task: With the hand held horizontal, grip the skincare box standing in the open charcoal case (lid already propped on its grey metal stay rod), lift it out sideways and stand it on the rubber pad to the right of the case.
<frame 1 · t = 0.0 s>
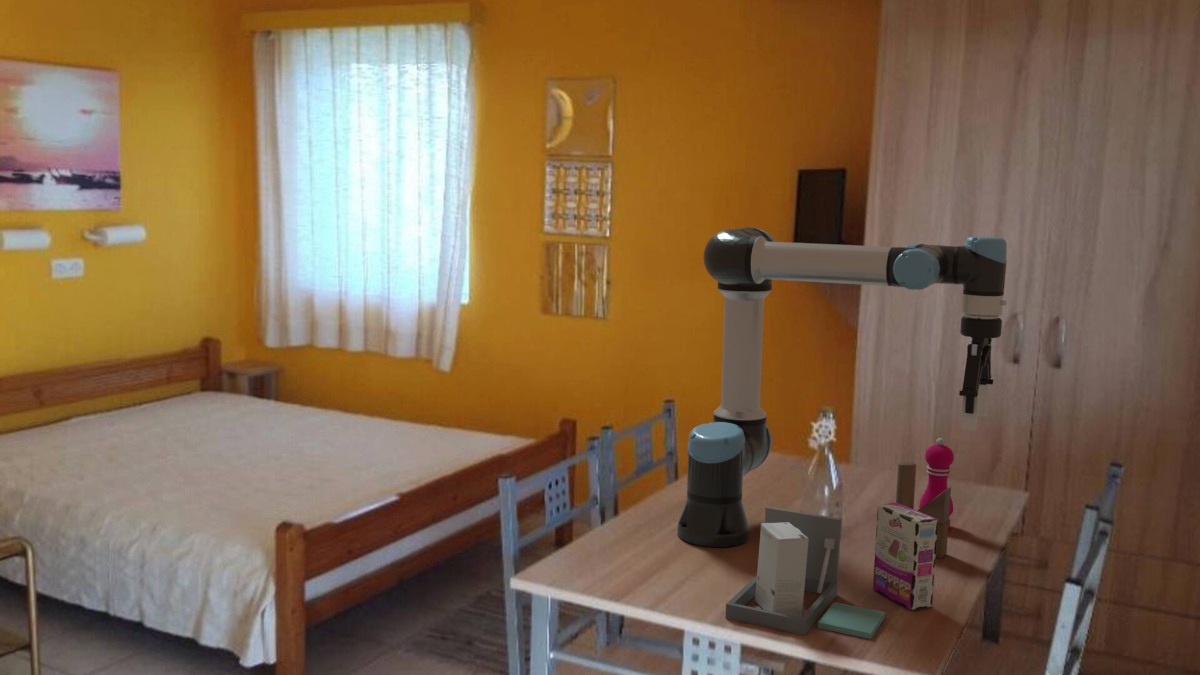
hand: (974, 422, 209), 28 cm above the table, tool pointing down, fingers open, 13 cm apart
skincare box: (779, 611, 185), resting in case
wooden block: (918, 551, 217), on the table
pad: (851, 622, 180), on the table
case: (783, 606, 187), on the table
pepper mill: (934, 527, 233), on the table
candy bar box: (902, 599, 192), on the table
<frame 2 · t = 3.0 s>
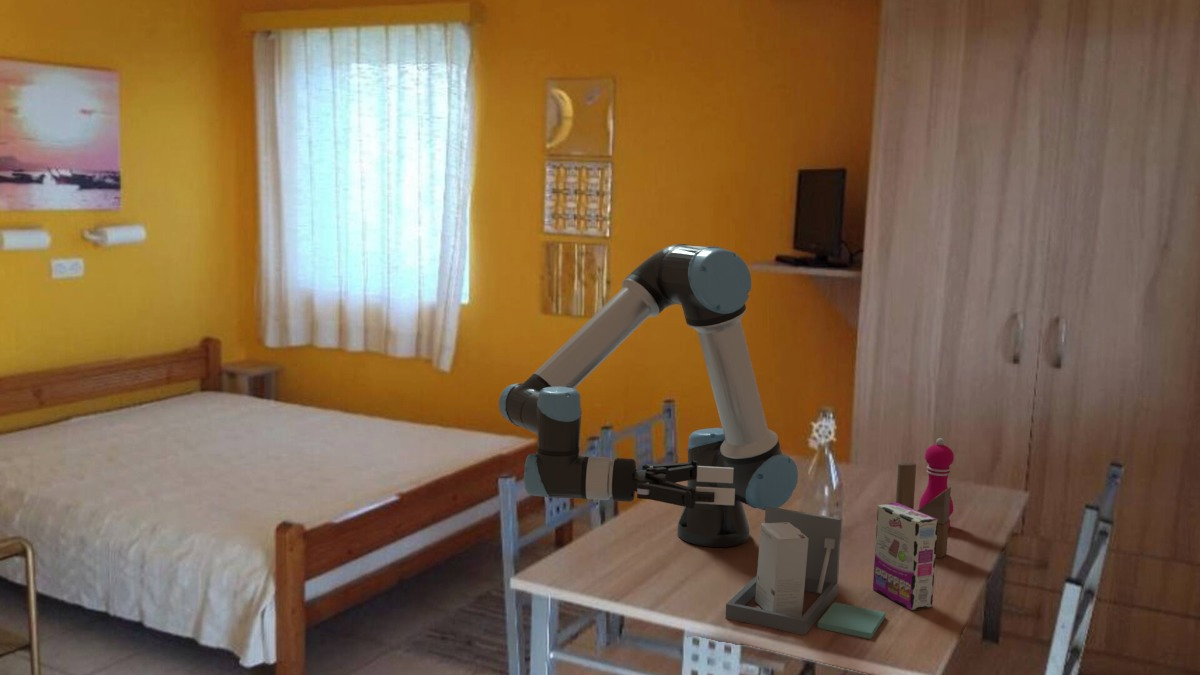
hand: (734, 485, 184), 22 cm above the table, tool horizontal, fingers open, 13 cm apart
nothing on the table moved.
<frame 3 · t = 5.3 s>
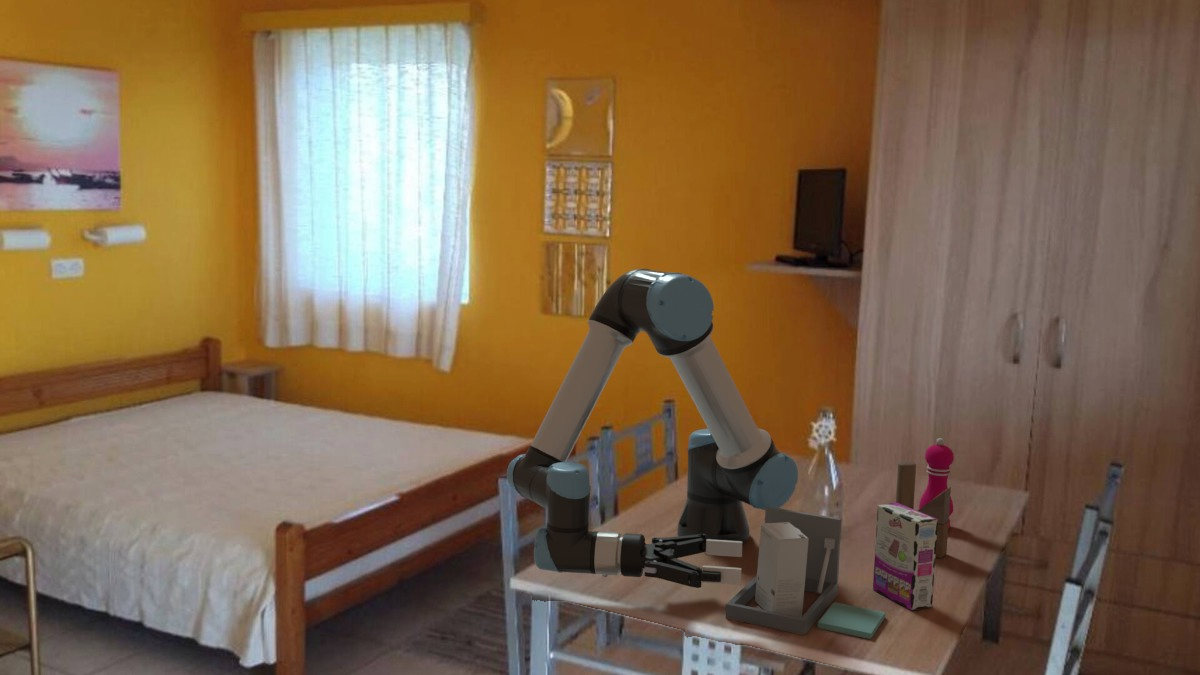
hand: (741, 562, 185), 8 cm above the table, tool horizontal, fingers open, 13 cm apart
nothing on the table moved.
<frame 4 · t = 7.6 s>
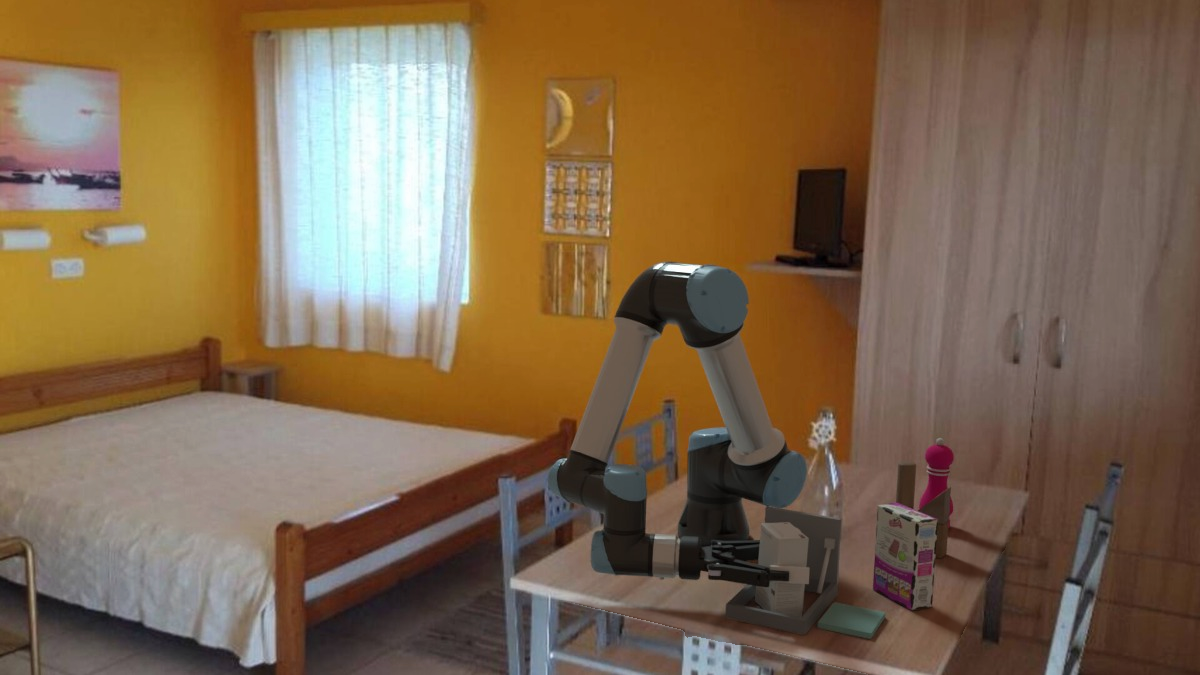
hand: (807, 565, 184), 9 cm above the table, tool horizontal, fingers closed on skincare box, 9 cm apart
skincare box: (779, 611, 185), resting in case, touching gripper
everything else where it was.
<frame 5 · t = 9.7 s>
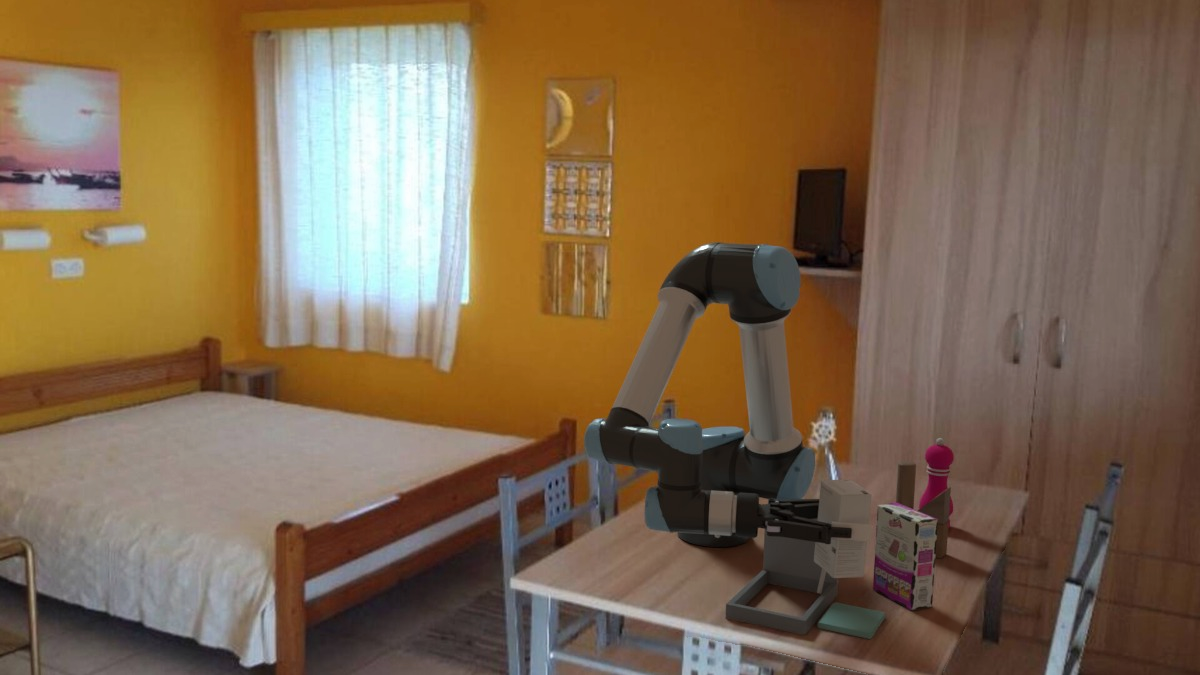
hand: (869, 523, 177), 18 cm above the table, tool horizontal, fingers closed on skincare box, 9 cm apart
skincare box: (839, 571, 179), point 9 cm above the table, touching gripper
everything else where it was.
when the fingers open (10 cm above the table, at t = 11.8 s): skincare box stays where it is, resting on pad.
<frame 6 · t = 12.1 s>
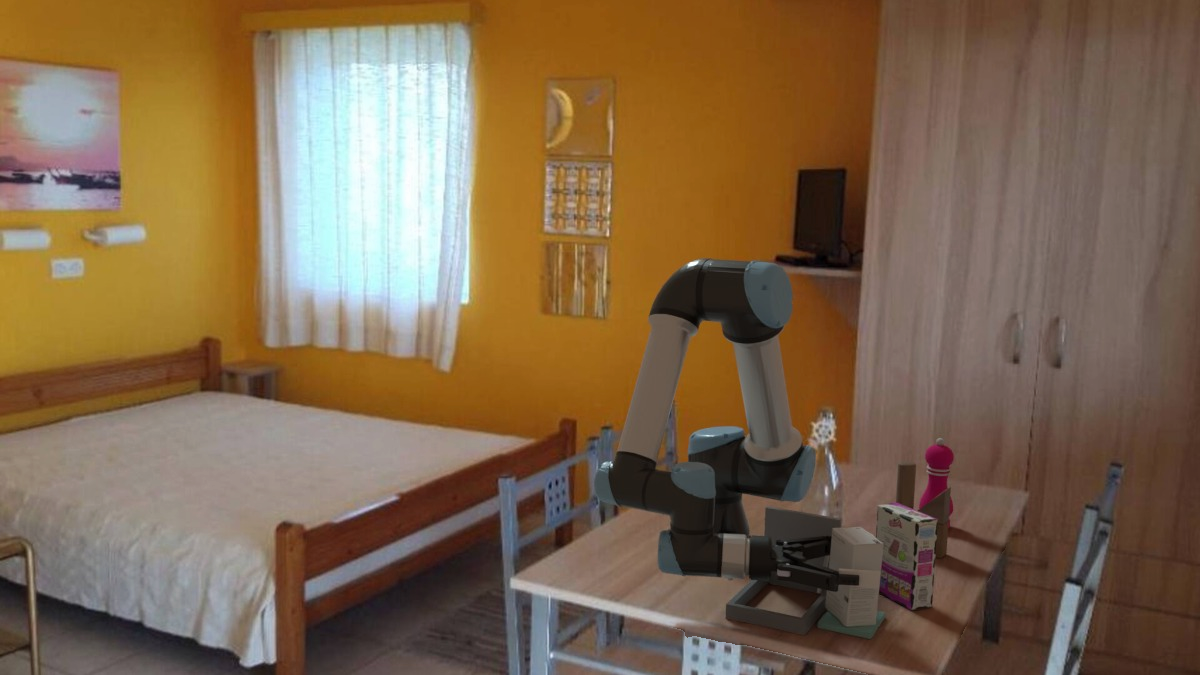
hand: (874, 565, 178), 10 cm above the table, tool horizontal, fingers open, 13 cm apart
skincare box: (851, 618, 180), point 1 cm above the table, touching pad
everything else where it was.
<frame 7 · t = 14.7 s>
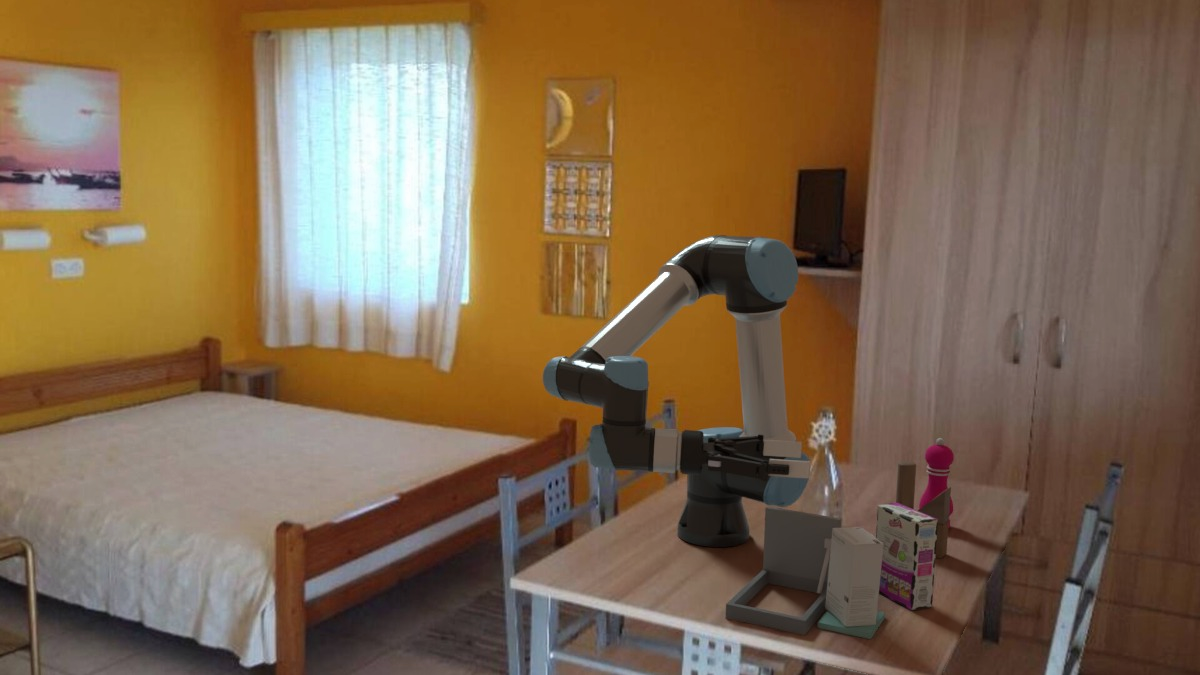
hand: (805, 459, 179), 28 cm above the table, tool horizontal, fingers open, 13 cm apart
nothing on the table moved.
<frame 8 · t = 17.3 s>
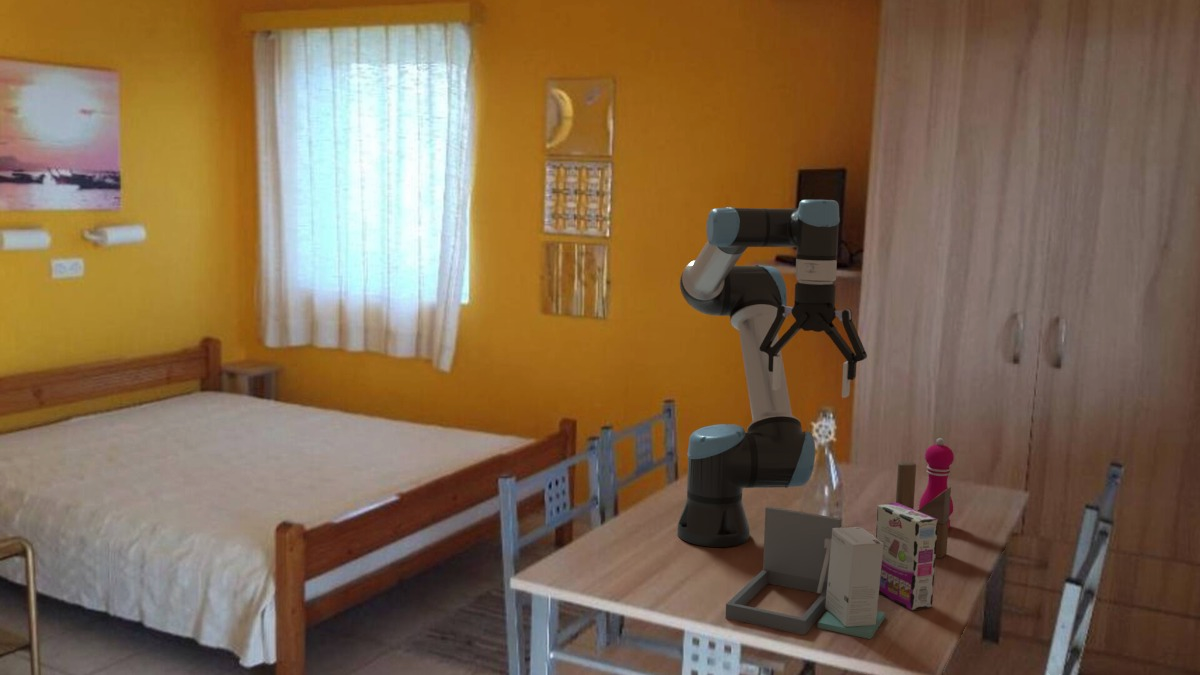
hand: (810, 392, 202), 35 cm above the table, tool pointing down, fingers open, 13 cm apart
nothing on the table moved.
at the end: skincare box inside the target area (0.1 cm from its centre), point 0.8 cm above the table; skincare box tilted 0°; the gripper is holding nothing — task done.
